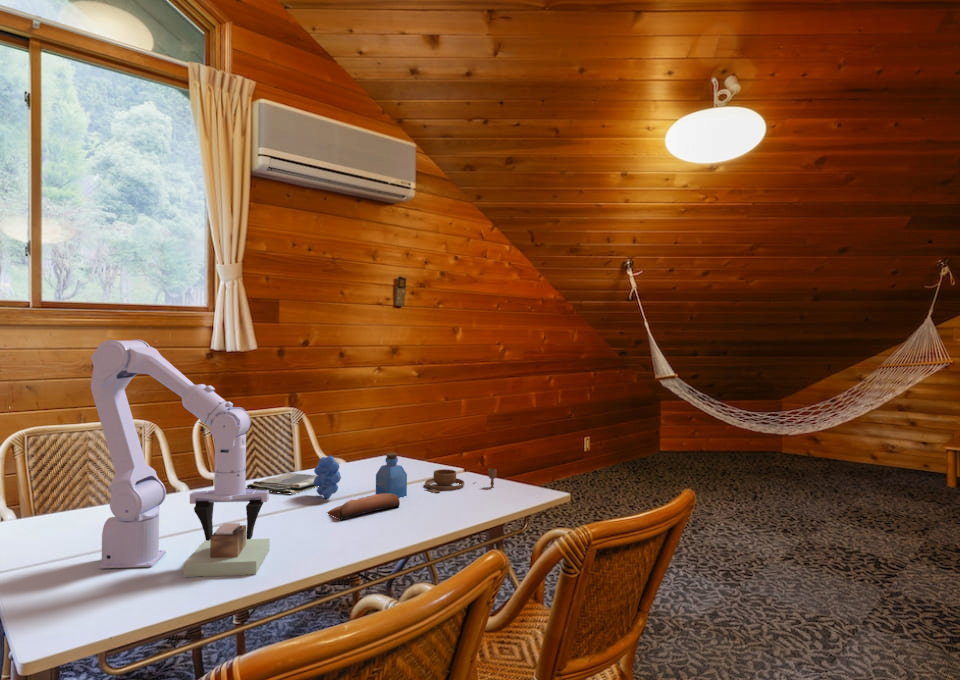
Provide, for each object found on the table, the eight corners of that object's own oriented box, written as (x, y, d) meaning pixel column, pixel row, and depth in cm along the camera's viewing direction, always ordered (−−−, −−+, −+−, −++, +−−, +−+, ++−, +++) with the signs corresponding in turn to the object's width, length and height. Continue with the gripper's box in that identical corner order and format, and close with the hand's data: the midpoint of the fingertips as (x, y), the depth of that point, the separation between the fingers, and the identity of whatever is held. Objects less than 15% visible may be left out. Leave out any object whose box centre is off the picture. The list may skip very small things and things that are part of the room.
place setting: (445, 479, 197) (445, 460, 197) (499, 488, 187) (499, 469, 187) (411, 490, 182) (412, 470, 182) (468, 501, 172) (468, 480, 172)
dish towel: (289, 477, 196) (289, 467, 196) (333, 484, 189) (334, 473, 189) (244, 490, 180) (244, 479, 180) (291, 498, 172) (291, 487, 172)
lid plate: (215, 539, 118) (215, 531, 118) (223, 530, 124) (223, 523, 124) (232, 539, 119) (232, 531, 119) (240, 530, 124) (240, 523, 124)
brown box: (210, 558, 117) (210, 537, 117) (220, 545, 124) (220, 525, 124) (237, 557, 118) (237, 536, 118) (245, 544, 125) (246, 525, 125)
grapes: (351, 499, 170) (352, 456, 170) (330, 503, 165) (331, 459, 165) (328, 491, 178) (329, 450, 178) (307, 495, 173) (308, 453, 173)
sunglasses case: (381, 500, 168) (388, 482, 166) (394, 518, 164) (402, 500, 162) (323, 513, 156) (330, 493, 153) (335, 533, 151) (343, 513, 149)
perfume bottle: (406, 496, 174) (407, 454, 174) (389, 500, 169) (390, 457, 169) (392, 492, 178) (393, 451, 178) (375, 496, 174) (376, 453, 174)
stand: (183, 577, 114) (183, 563, 114) (204, 552, 127) (204, 540, 127) (256, 574, 116) (256, 561, 116) (269, 550, 129) (269, 538, 129)
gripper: (184, 475, 116) (183, 546, 117) (264, 473, 119) (263, 543, 119) (196, 467, 123) (195, 534, 124) (271, 466, 126) (270, 532, 126)
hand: (229, 538), depth 122 cm, fingers open, 7 cm apart
